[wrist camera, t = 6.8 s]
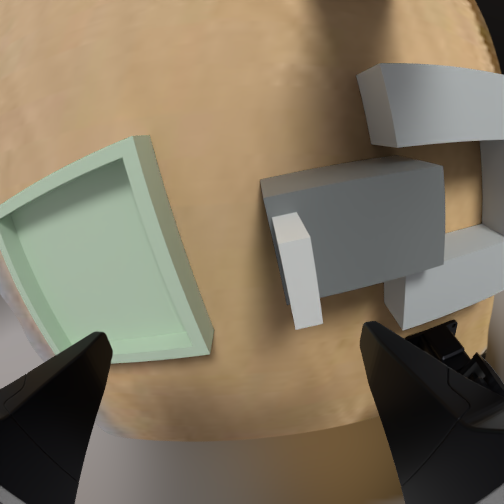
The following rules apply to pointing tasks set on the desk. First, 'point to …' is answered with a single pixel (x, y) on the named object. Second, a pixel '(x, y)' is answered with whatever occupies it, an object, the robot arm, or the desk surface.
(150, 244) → the tray
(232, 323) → the desk surface
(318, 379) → the desk surface
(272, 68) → the desk surface
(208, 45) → the desk surface
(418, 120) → the bay housing
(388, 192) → the grey block with handle
